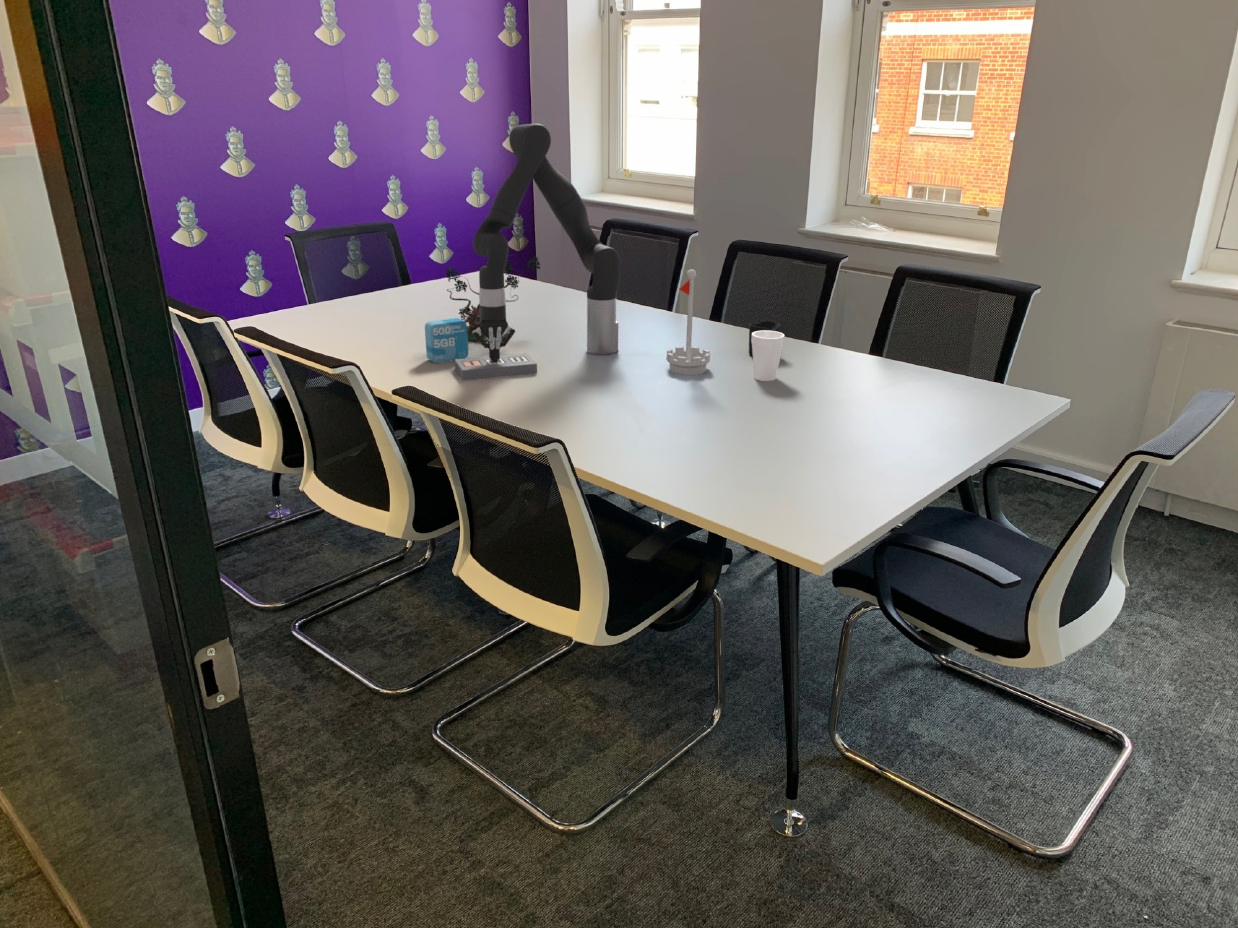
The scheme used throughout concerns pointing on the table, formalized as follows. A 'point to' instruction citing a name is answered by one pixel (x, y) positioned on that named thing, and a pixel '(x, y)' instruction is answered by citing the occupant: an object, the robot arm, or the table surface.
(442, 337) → the data package
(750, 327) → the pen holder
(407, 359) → the table surface
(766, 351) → the foam cup
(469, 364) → the button one
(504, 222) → the robot arm
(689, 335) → the flag stand
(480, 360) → the button panel
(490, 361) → the button three
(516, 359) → the button two
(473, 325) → the bonsai tree
